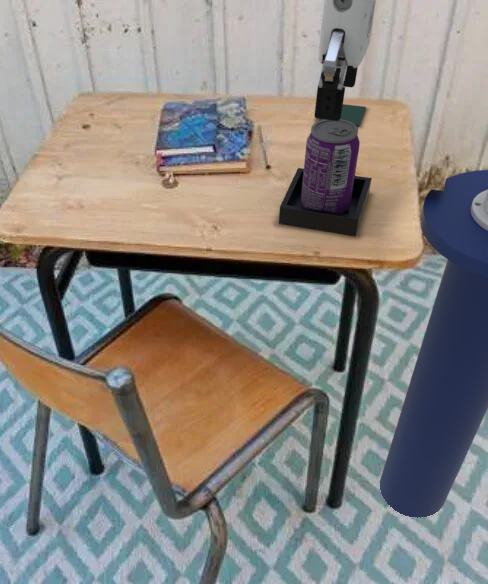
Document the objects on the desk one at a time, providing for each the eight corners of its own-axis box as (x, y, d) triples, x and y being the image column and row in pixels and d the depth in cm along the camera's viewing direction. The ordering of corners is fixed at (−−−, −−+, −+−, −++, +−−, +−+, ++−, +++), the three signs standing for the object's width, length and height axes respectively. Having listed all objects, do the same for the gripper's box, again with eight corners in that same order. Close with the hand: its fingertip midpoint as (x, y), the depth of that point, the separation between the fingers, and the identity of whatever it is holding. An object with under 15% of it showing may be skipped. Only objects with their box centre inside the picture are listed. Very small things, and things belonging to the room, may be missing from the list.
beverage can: (356, 200, 95) (369, 123, 86) (338, 226, 91) (350, 147, 82) (311, 189, 98) (319, 112, 89) (292, 213, 94) (298, 135, 85)
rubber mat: (365, 108, 115) (366, 106, 115) (358, 127, 111) (359, 124, 111) (326, 104, 117) (326, 102, 117) (318, 122, 113) (318, 120, 113)
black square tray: (368, 194, 97) (371, 177, 95) (355, 236, 90) (358, 219, 88) (296, 184, 100) (298, 167, 98) (278, 223, 93) (279, 207, 91)
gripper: (378, -25, 64) (352, 137, 77) (401, -72, 75) (375, 77, 88) (304, -31, 66) (290, 128, 79) (337, -75, 77) (320, 71, 89)
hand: (335, 101), depth 83 cm, fingers open, 9 cm apart
